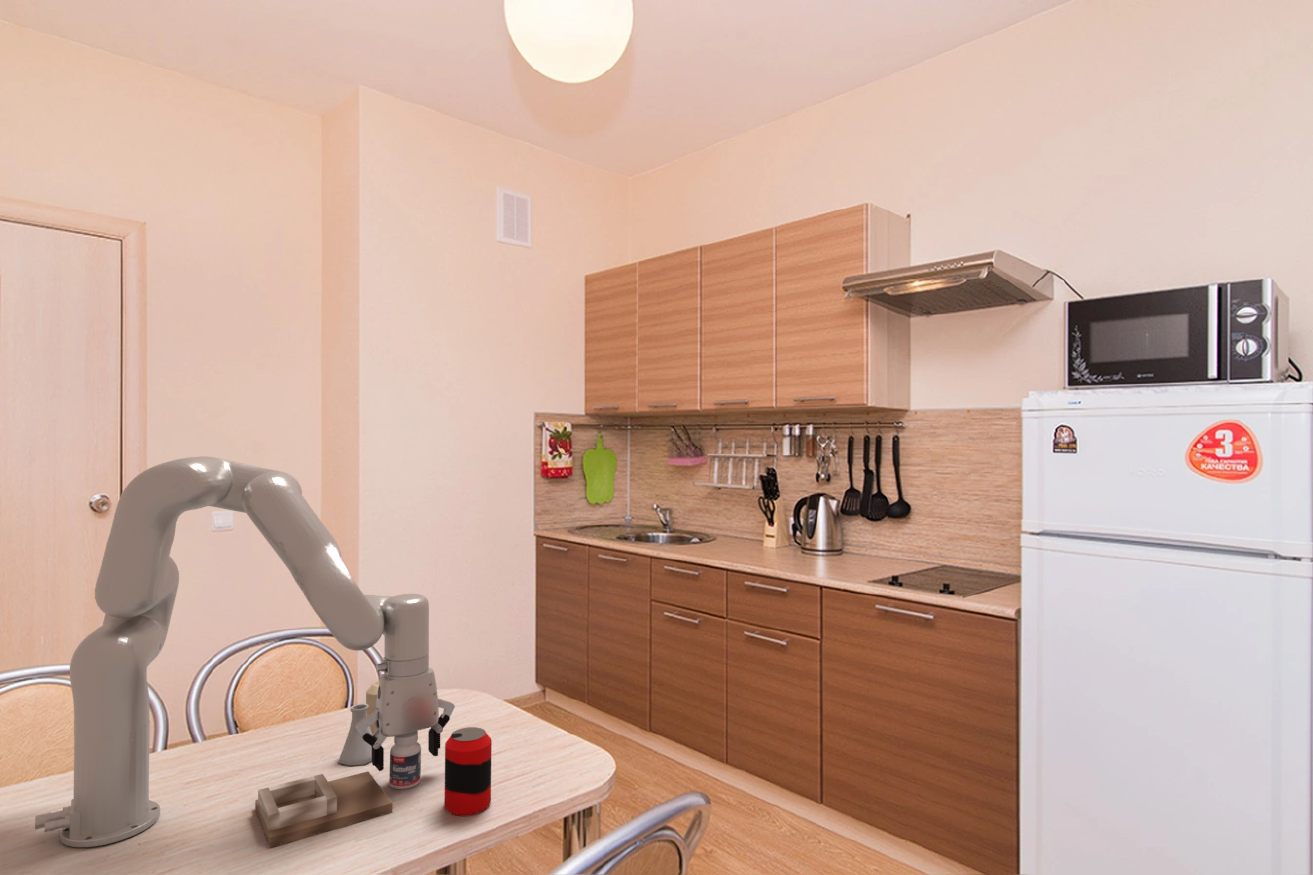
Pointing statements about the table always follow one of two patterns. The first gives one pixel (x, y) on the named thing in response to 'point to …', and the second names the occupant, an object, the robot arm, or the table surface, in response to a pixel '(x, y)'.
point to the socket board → (318, 806)
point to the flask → (356, 740)
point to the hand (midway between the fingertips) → (406, 760)
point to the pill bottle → (405, 761)
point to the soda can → (467, 771)
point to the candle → (372, 702)
